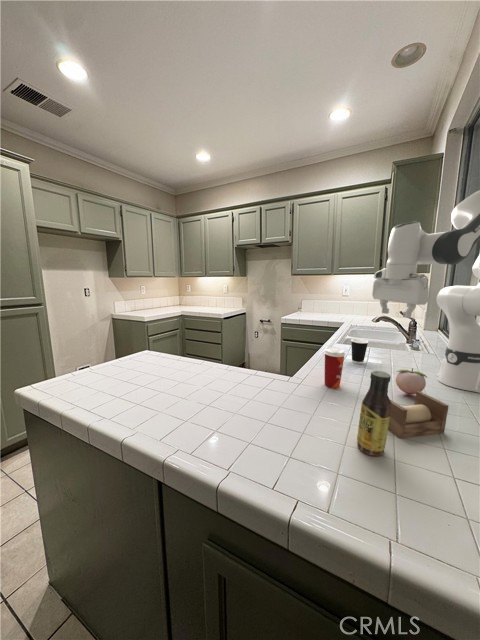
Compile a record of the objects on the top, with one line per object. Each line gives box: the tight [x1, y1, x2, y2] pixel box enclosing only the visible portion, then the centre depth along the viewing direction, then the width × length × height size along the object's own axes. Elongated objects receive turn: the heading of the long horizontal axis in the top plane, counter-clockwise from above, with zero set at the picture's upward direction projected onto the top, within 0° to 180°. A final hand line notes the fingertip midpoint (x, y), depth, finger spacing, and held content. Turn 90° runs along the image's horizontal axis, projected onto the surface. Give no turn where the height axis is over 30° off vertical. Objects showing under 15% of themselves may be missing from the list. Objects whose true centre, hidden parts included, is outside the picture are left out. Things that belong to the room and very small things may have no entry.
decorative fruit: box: [395, 368, 428, 396], centre depth 95 cm, size 9×8×10 cm
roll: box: [402, 404, 431, 425], centre depth 75 cm, size 9×5×5 cm, turn 102°
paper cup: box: [323, 347, 346, 389], centre depth 102 cm, size 8×8×14 cm
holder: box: [388, 391, 449, 440], centre depth 75 cm, size 14×9×8 cm, turn 102°
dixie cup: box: [350, 338, 369, 365], centre depth 130 cm, size 8×8×11 cm
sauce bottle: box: [356, 370, 391, 457], centre depth 63 cm, size 6×6×20 cm
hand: (395, 315), depth 90 cm, fingers open, 8 cm apart
